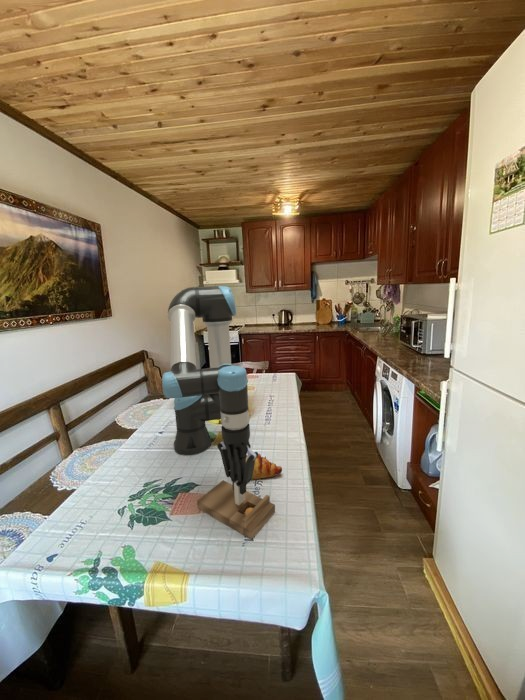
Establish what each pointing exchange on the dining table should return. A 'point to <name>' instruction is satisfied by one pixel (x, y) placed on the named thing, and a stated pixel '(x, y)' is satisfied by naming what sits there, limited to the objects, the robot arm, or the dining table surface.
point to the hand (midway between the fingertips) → (240, 501)
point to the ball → (248, 511)
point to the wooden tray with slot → (237, 509)
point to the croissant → (264, 468)
